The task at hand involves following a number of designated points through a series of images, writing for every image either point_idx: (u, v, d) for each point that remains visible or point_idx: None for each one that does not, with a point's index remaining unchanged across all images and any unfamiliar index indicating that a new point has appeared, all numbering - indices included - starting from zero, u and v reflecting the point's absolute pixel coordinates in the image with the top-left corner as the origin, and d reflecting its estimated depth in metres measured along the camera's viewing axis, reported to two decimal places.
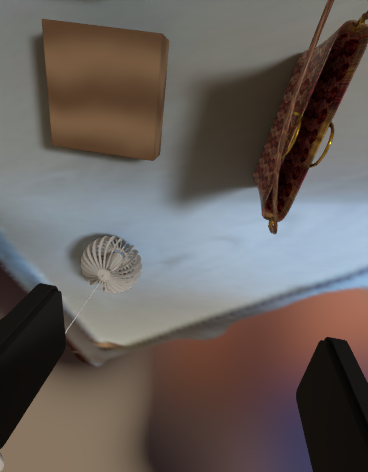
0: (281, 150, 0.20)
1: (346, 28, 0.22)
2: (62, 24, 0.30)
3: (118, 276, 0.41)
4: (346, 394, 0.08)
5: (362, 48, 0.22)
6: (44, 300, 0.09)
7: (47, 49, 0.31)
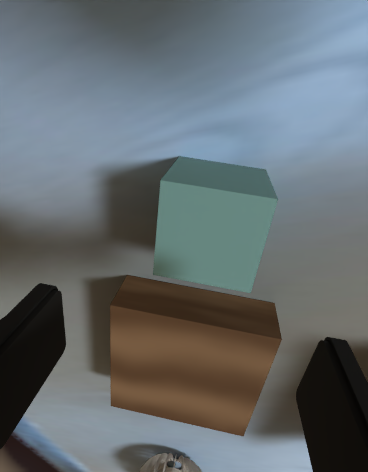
0: None
1: None
2: (138, 313, 0.22)
3: None
4: (346, 394, 0.08)
5: None
6: (44, 300, 0.09)
7: (114, 331, 0.23)
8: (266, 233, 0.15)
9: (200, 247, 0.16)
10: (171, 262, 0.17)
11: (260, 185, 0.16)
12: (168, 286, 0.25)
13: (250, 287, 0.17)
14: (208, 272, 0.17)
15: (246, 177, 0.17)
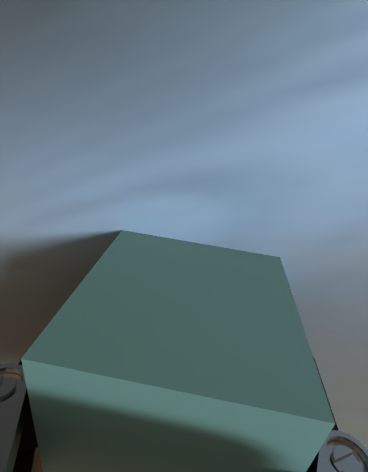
0: None
1: None
2: None
3: None
4: None
5: None
6: None
7: None
8: None
9: None
10: None
11: (278, 339, 0.07)
12: None
13: None
14: None
15: (245, 299, 0.08)
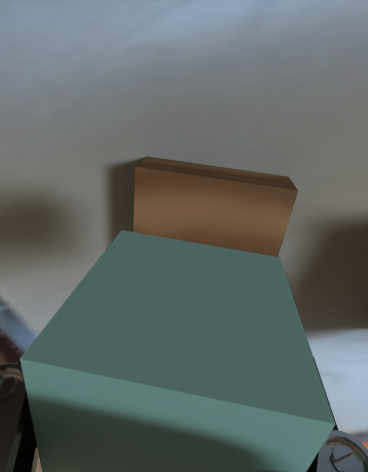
0: None
1: None
2: (162, 173, 0.23)
3: None
4: None
5: None
6: None
7: (138, 198, 0.24)
8: None
9: None
10: None
11: (278, 339, 0.07)
12: (187, 163, 0.26)
13: None
14: None
15: (245, 299, 0.08)
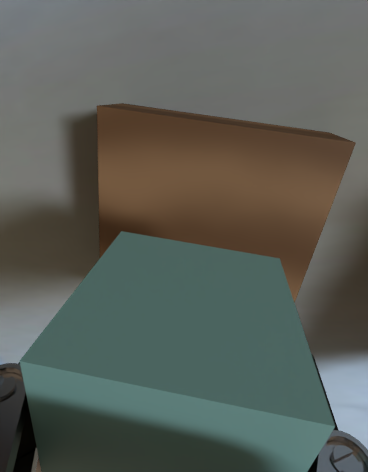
0: None
1: None
2: (139, 117, 0.15)
3: None
4: None
5: None
6: None
7: (104, 159, 0.16)
8: None
9: None
10: None
11: (278, 341, 0.07)
12: (180, 112, 0.18)
13: None
14: None
15: (245, 300, 0.08)
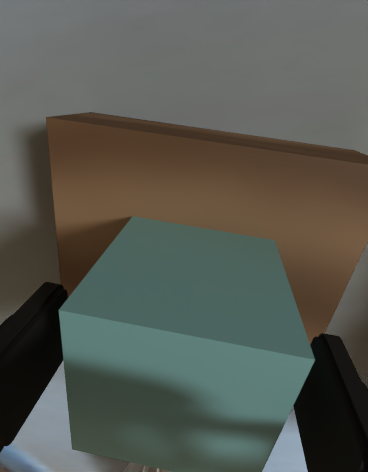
0: None
1: None
2: (104, 133, 0.11)
3: None
4: (338, 388, 0.08)
5: None
6: (51, 298, 0.09)
7: (60, 187, 0.12)
8: (286, 412, 0.07)
9: (154, 421, 0.08)
10: (102, 436, 0.09)
11: (271, 301, 0.08)
12: (163, 124, 0.14)
13: None
14: (173, 456, 0.09)
15: (243, 271, 0.09)
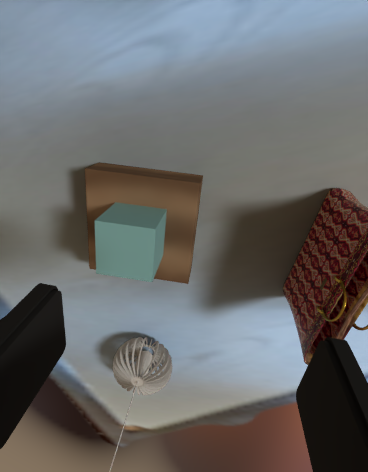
0: None
1: None
2: (104, 173, 0.32)
3: (151, 382, 0.42)
4: (346, 394, 0.08)
5: None
6: (44, 300, 0.09)
7: (89, 192, 0.33)
8: (153, 247, 0.28)
9: (120, 256, 0.29)
10: (105, 265, 0.29)
11: (152, 221, 0.29)
12: (128, 166, 0.35)
13: (151, 278, 0.29)
14: (127, 270, 0.29)
15: (148, 216, 0.30)
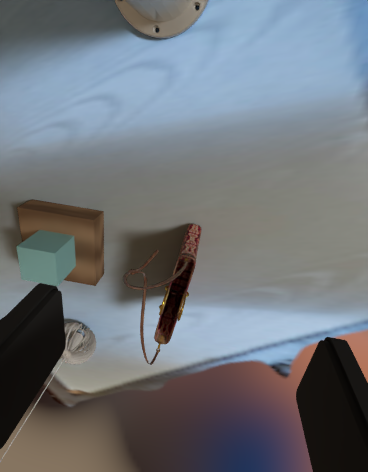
0: (142, 331, 0.36)
1: None
2: (30, 211, 0.46)
3: (76, 355, 0.58)
4: (346, 394, 0.08)
5: (193, 266, 0.38)
6: (44, 300, 0.09)
7: (21, 222, 0.48)
8: (55, 264, 0.43)
9: (35, 269, 0.44)
10: (27, 274, 0.45)
11: (56, 246, 0.44)
12: (51, 203, 0.49)
13: (57, 284, 0.45)
14: (41, 278, 0.45)
15: (56, 242, 0.45)
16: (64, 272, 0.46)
